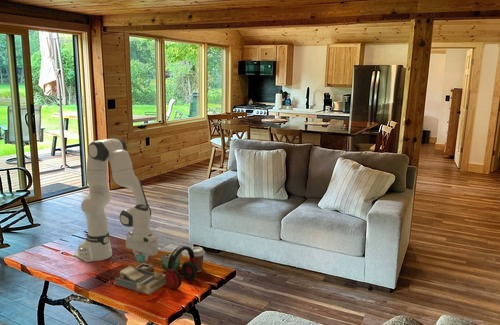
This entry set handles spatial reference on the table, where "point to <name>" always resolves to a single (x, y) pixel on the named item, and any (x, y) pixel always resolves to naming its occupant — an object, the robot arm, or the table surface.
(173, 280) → the headphones
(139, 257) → the ball
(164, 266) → the food container
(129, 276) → the ramp
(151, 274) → the grey railed platform
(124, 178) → the robot arm
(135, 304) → the table surface
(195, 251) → the coffee cup
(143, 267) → the brown square wooden tray
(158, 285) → the tray
